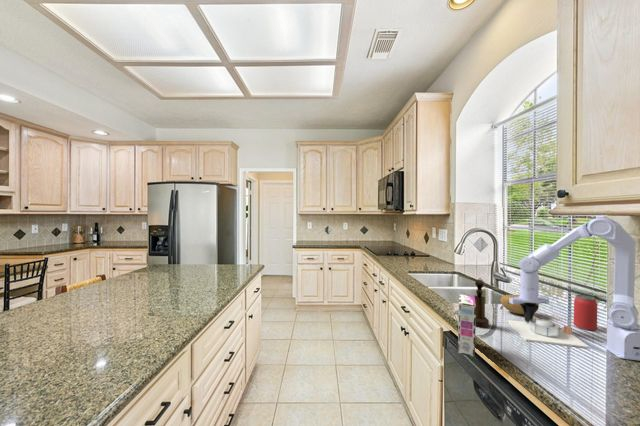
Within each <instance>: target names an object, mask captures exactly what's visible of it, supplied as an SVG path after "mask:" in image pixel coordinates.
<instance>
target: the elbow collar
mask: <svg viewBox="0 0 640 426" xmlns="http://www.w3.org/2000/svg"><path fill="white" fill-rule="evenodd" d="M536 319H540V317H537V316H536V315H535V314H534V315H533V319H531V320H530V321H529V322H527V321H525V322H526V323H528V324H529V329H530V330H532V331H533V332H535V333H538V334H541V335H545V336H552V337H557V336H559V335H560V326H561V325H559V324H558V323H555V322H554V321H552V320H550V321H551V322H553V327H546V326H542V325H539V324H537V323H536Z"/></svg>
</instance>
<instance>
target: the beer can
mask: <svg viewBox="0 0 640 426" xmlns="http://www.w3.org/2000/svg"><path fill="white" fill-rule="evenodd" d="M573 325H574V326H575V327H577V328H579V329H581V330H585V331H591V332H592V331H596V330H598V302H597V301H596V298H595V297H593V296H590V295H584V294H576V295H575V297H574V300H573Z"/></svg>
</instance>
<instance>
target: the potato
mask: <svg viewBox="0 0 640 426" xmlns="http://www.w3.org/2000/svg"><path fill="white" fill-rule="evenodd" d="M519 295H520V294H505V295H503V296H501V297H500V299H499V300H500V302H501V303H500V304H501V305H502V306H503V307H504V308H505V309H506V310H507V311H509V312H511V313H513V314H516V315H521V316H522V315H524V316H525V314H524V311H523V309H522V307H521V305H520V304H511V303H509V298H513V297H519ZM536 305H538V309H537V310H536V312H535V313H537V312H538V311H539V308H540V303H536Z"/></svg>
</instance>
